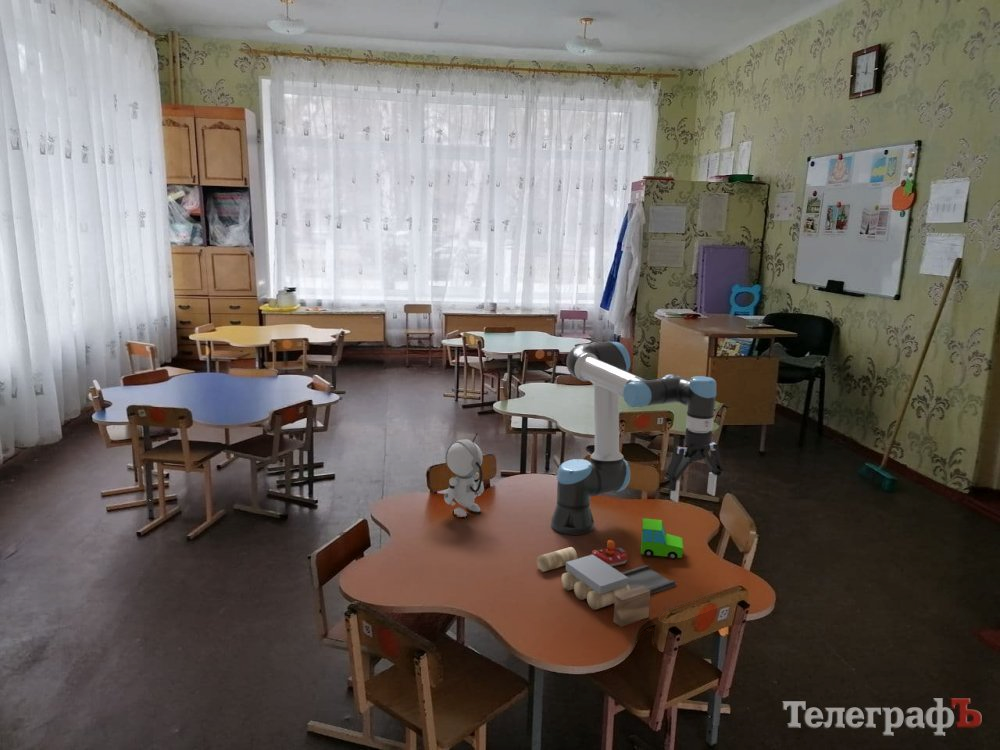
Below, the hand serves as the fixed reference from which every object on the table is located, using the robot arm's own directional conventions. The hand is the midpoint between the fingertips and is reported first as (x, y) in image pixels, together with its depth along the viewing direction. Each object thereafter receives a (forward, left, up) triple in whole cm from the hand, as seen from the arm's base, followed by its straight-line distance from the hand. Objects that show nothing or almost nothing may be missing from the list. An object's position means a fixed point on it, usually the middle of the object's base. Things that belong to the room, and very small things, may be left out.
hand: (692, 497), depth 212 cm
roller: (-25, -31, -26) cm, 47 cm away
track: (-1, -22, -26) cm, 34 cm away
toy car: (-15, +4, -26) cm, 30 cm away
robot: (-74, -36, -26) cm, 86 cm away
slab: (-6, -31, -21) cm, 38 cm away
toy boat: (-19, -15, -26) cm, 35 cm away
